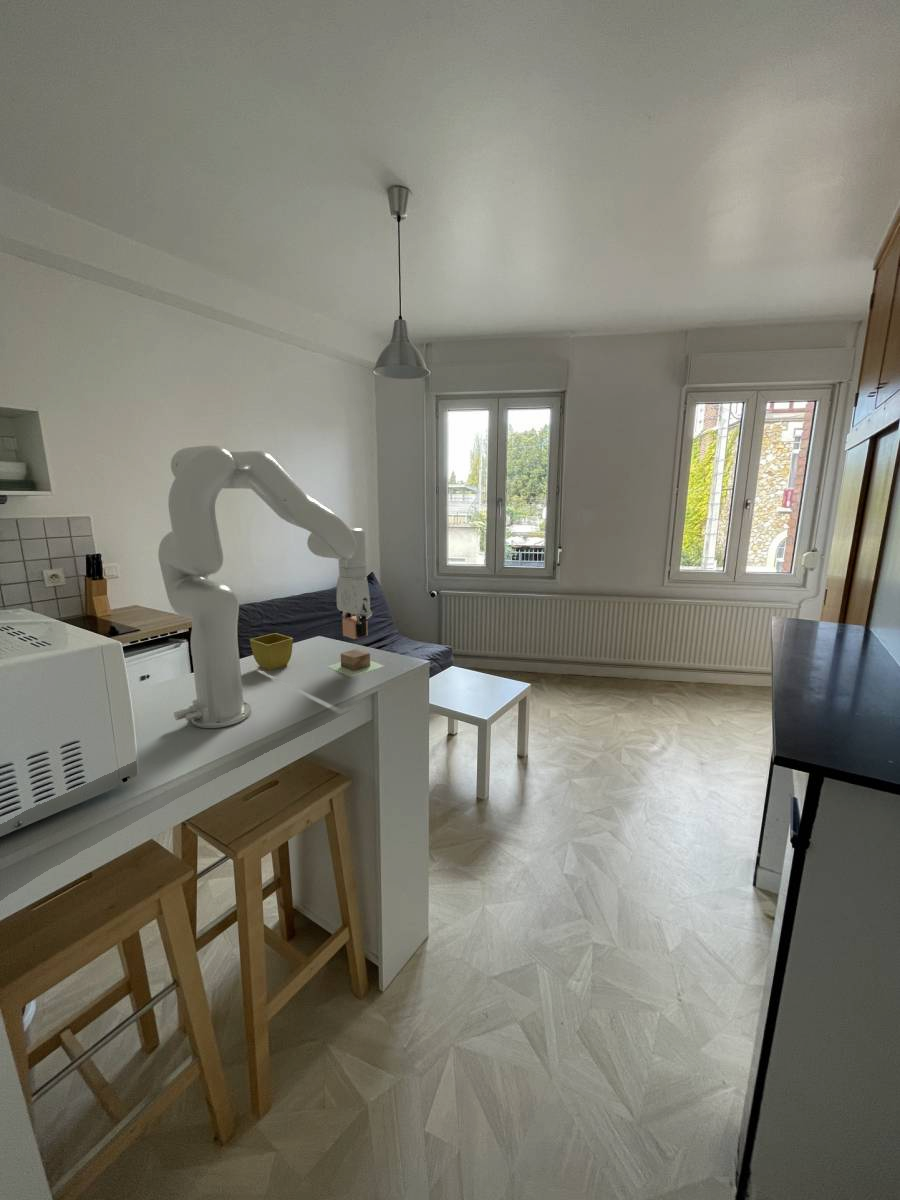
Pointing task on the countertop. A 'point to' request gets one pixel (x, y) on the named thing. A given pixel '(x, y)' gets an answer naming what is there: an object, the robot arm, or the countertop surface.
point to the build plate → (354, 673)
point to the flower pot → (272, 650)
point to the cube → (351, 627)
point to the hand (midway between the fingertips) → (355, 633)
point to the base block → (355, 659)
